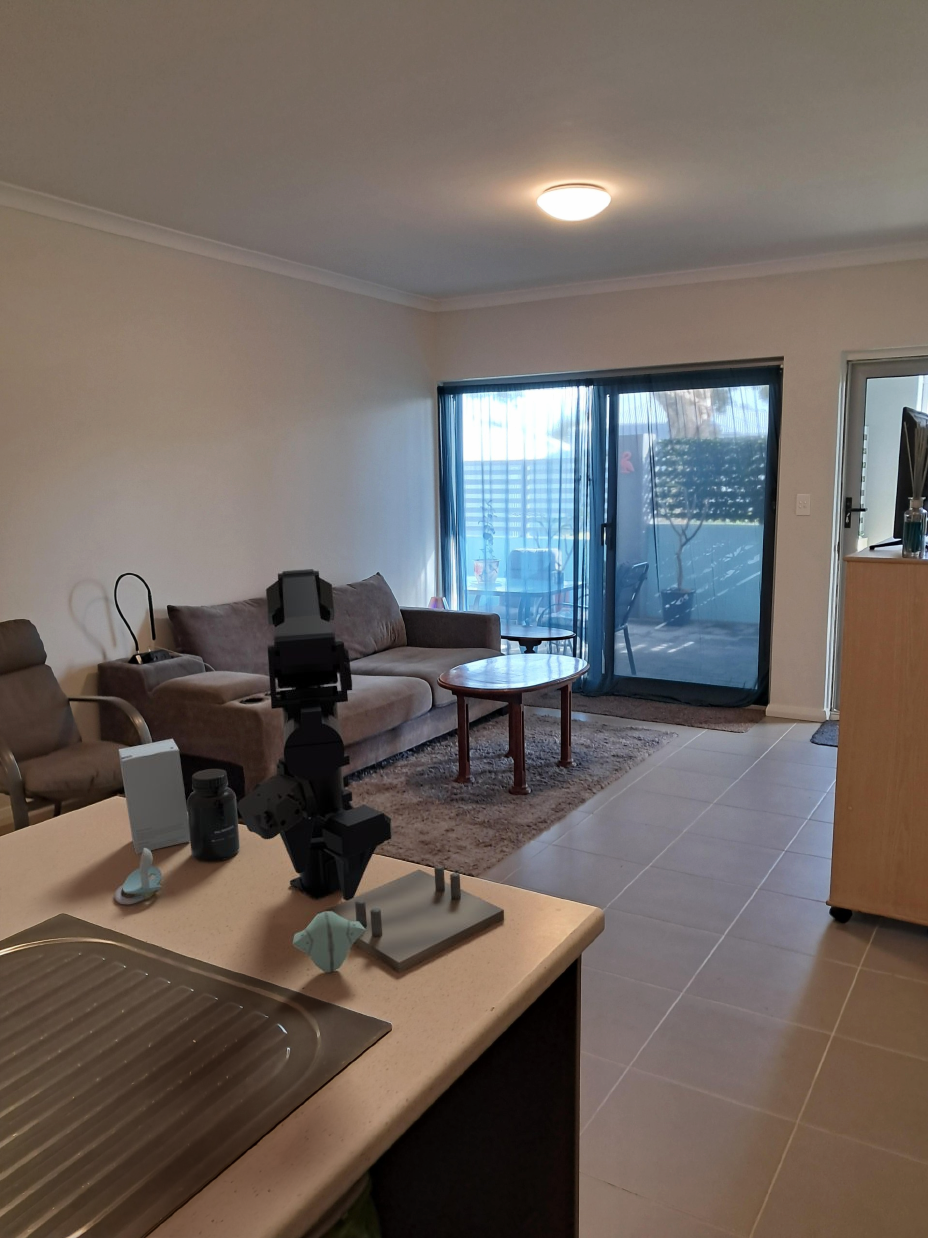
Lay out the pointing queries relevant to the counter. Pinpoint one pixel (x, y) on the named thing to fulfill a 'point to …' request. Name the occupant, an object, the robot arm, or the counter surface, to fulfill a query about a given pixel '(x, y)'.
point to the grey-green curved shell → (328, 939)
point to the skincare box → (155, 795)
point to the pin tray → (416, 917)
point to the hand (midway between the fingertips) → (324, 885)
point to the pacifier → (140, 881)
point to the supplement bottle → (212, 817)
